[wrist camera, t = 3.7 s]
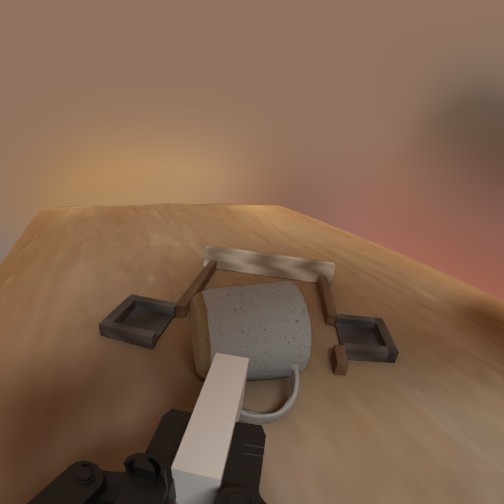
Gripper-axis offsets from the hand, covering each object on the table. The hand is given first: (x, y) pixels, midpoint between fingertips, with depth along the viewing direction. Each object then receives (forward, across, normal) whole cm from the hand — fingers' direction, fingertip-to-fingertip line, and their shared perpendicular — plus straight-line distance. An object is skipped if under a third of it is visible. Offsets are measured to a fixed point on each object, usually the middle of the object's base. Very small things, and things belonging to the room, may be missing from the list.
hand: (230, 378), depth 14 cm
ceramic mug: (+9, +1, -7) cm, 11 cm away
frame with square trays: (+22, 0, -7) cm, 23 cm away
